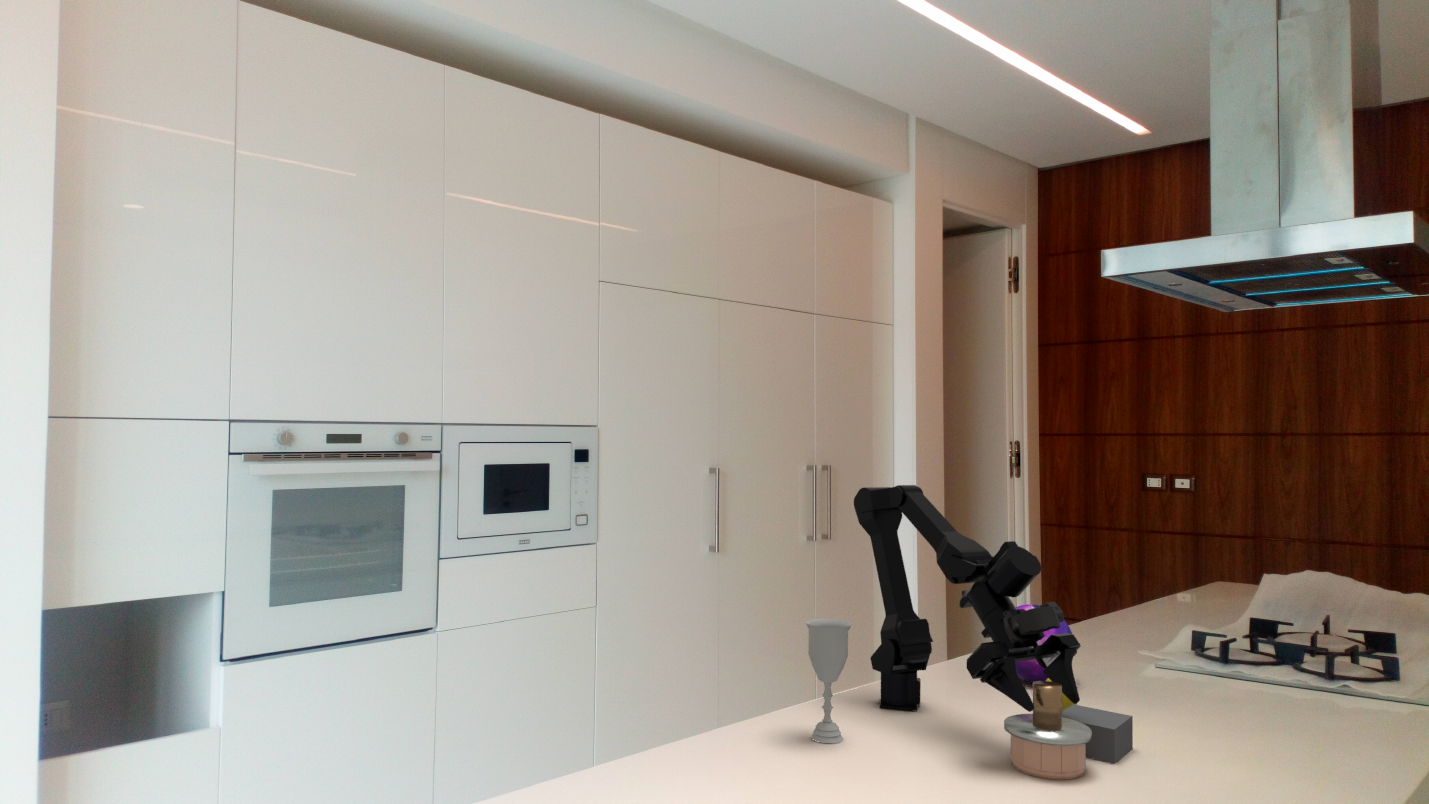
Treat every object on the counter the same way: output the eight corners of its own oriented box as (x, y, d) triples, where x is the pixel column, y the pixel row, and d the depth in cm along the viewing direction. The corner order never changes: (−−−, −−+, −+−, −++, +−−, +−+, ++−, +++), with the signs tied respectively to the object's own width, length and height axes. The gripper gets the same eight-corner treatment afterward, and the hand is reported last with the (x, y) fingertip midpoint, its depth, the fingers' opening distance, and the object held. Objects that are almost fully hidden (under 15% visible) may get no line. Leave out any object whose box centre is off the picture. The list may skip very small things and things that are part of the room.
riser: (1053, 749, 139) (1053, 716, 139) (1073, 735, 146) (1073, 704, 146) (1114, 763, 133) (1114, 729, 134) (1132, 748, 140) (1132, 715, 140)
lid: (992, 733, 131) (992, 685, 131) (1018, 714, 140) (1019, 669, 141) (1079, 751, 124) (1079, 701, 124) (1100, 729, 133) (1100, 682, 134)
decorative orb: (979, 679, 180) (979, 603, 180) (1018, 667, 190) (1018, 595, 191) (1050, 696, 169) (1051, 615, 169) (1088, 682, 179) (1088, 606, 179)
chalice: (854, 734, 144) (855, 620, 145) (846, 748, 138) (847, 629, 139) (809, 729, 147) (810, 617, 148) (799, 742, 140) (800, 625, 141)
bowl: (1013, 774, 128) (1013, 739, 128) (1008, 751, 138) (1009, 718, 138) (1089, 782, 126) (1089, 746, 126) (1079, 758, 135) (1079, 724, 135)
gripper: (980, 587, 132) (1039, 683, 122) (1070, 580, 141) (1132, 668, 130) (943, 631, 139) (996, 725, 128) (1031, 622, 147) (1087, 709, 137)
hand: (1055, 706), depth 131 cm, fingers open, 9 cm apart
